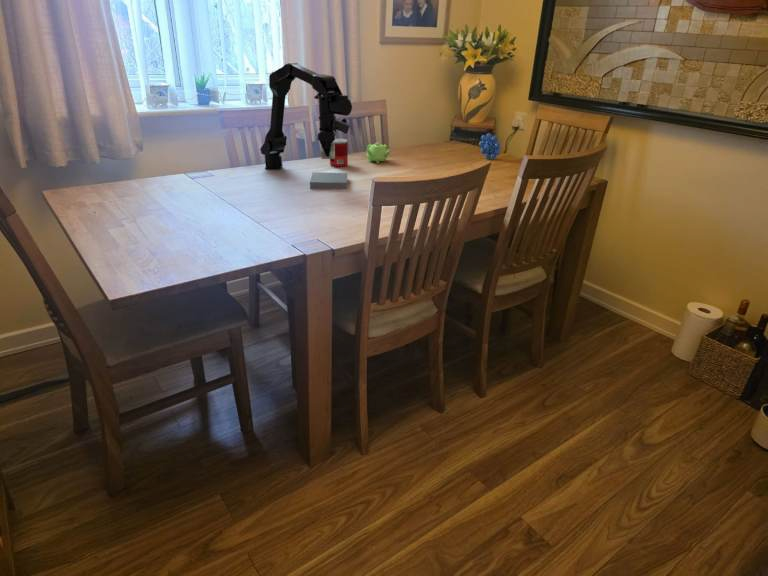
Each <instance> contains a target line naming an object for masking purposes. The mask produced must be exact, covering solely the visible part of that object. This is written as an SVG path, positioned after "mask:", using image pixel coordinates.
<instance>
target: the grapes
mask: <svg viewBox="0 0 768 576" xmlns="http://www.w3.org/2000/svg"><path fill="white" fill-rule="evenodd" d="M480 139H481V140H480V141H479V142H478V144H479V145H478V146H479V148H480V153H481V154H482V155H484V157H485V159H487V160H490V159H492V160H496V158H497V156H500V155H501V151H500V149H501V147H502V146H501V143H500V142H499V141H498V137H497V135H493V134H491V133H490V132H487V133H486V134H483V135H481V136H480Z"/></svg>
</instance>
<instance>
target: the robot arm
mask: <svg viewBox="0 0 768 576" xmlns="http://www.w3.org/2000/svg"><path fill="white" fill-rule="evenodd" d="M268 77H269V78H268V82H269V83H268V84H269V89H270V92H271V94H272V98H271V99H272V102H271V115H270V126H269V130H268V131H267V133H266V134H265V139H264V143H263V144H262V146H260V149H259V150H260V154H262V155H264V162H265V167H264V169H265V170H281V169H282V167H283V165H284V164H283V156H282V155H281V154H283V153H285V148H286V146H287V140H288V137H287V136H286V135H285V133H284V131H283V125H284V118H285V117H284V114H285V105H286V97H287V95H288V93H289V92H290V89H291V86H292V83H293V81H294V80H296V78H297V79H299V80H300V81H302V82H305V83H307V84H309V85H310V86H311V88H312V89H313V90H314V91H315V92H317V93H316V95H315V96H314V99H316V100H318V114H319V116H318V119H319V128H318V129H319V132H318V133H317V140H318V141H319V143H320V146H321V145H322V148H323V150H324V152H325V154H326V156H327V157H329V155H330V148H331V143H332V142H333V141H334V140H335V139H336V135H337V134H336V133H337V131H340V132H342V133H343V134H348V132H349V130H350V127H351V124H350V123H349V122H348V119H347V118H344V117H343V118H342V119H337V118H336V115H339V116H350V114H351V113H352V110H353V105H352V102H351V101H350V99H349V96H348V95H345V94H344V95H343V93H342V91H341V88H340V87H339V85H338V82H337V80H336V78H335V76H333V75H329V74H320V73H318V72H315V71H314V70H310V69H308V68H306V67H304V66H302V65H300V64H299V63H298V62H287V63H285V64H284V65H283V66H281V67H280V68H278V69H276V70H274V71H272V72H271V73H270V74H269V76H268Z"/></svg>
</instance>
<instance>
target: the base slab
mask: <svg viewBox="0 0 768 576" xmlns="http://www.w3.org/2000/svg"><path fill="white" fill-rule="evenodd" d="M347 187H348V172H312V174H311V177H310V180H309V189H310V190H311V189H313V190H321V189H322V190H347Z"/></svg>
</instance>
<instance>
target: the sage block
mask: <svg viewBox="0 0 768 576" xmlns="http://www.w3.org/2000/svg"><path fill="white" fill-rule="evenodd" d="M320 155H321V157H320V158H321V160H330V159H335V143H331V148H330V155H329V157H327V156H326V154H325V152H324V150H323V148H322V145H321V144H320Z"/></svg>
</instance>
